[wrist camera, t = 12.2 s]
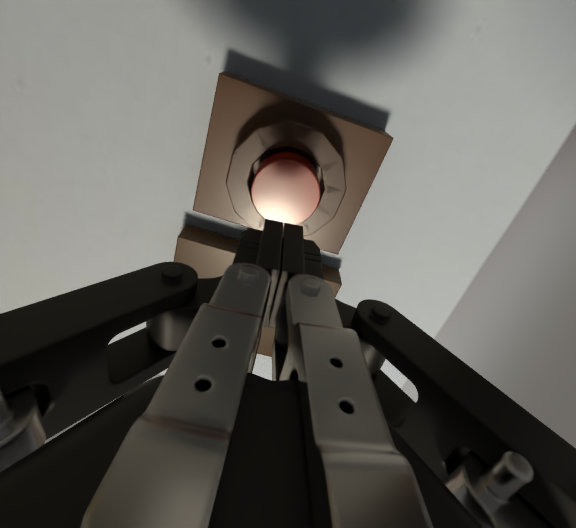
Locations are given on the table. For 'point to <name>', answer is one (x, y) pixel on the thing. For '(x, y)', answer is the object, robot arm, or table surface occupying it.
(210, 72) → the table surface
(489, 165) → the table surface
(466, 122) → the table surface
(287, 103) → the block
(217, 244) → the plate
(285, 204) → the button
